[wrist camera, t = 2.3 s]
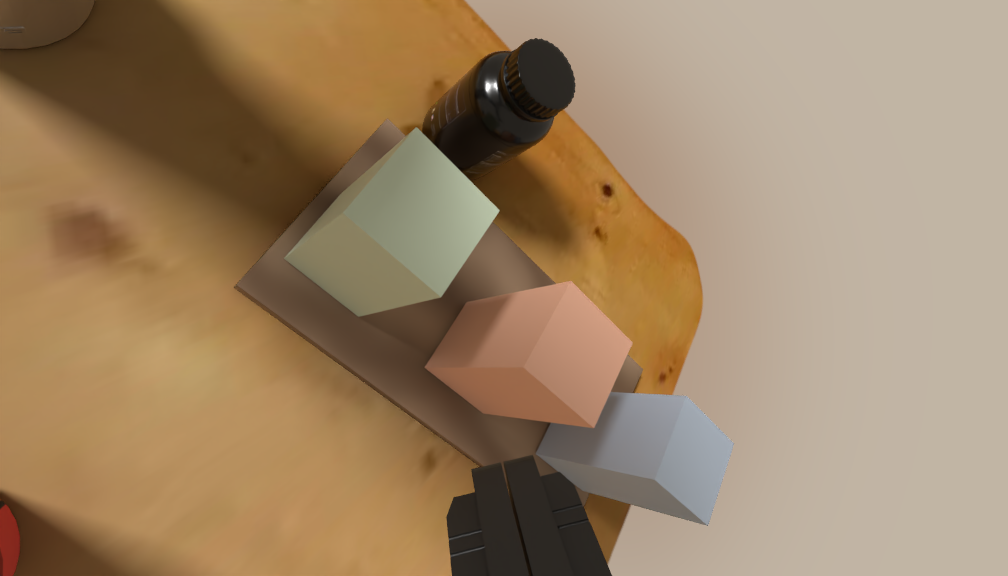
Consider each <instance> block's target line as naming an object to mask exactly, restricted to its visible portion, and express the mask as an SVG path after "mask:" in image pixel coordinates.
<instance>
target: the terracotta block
mask: <svg viewBox="0 0 1008 576" xmlns="http://www.w3.org/2000/svg"><path fill="white" fill-rule="evenodd" d="M631 346H632V342H631V341H630V340H629V339H628V338H627V337H626V336H625V335H624V334H623V333H622V332H621V331H620V330H619V329H618V328H617V327H616V326H615V325H614V324H613V323H612V322H611V321H610V319H609V318H608V317H607V316H606V315H605V314H604V313H603V312H602V311H601V310H600V309H599V308H598V307H597V306H596V305H595V304H594V303H593V302H592V301H591V300H590V299H589V298H588V297H587V296H586V295H585V294H584V293H583V292H582V291H581V290H580V289H579V288H578V287H577V286H576V285H575V284H574V283H573V282H572V281H568V282H564V283H559V284H554V285H549V286H544V287H539V288H534V289H529V290H524V291H519V292H514V293H509V294H504V295H500V296H495V297H490V298H485V299H480V300H475V301H470V302H467V303H466V304H465V306H464V307H463V309H462V310H461V312H460V313H459V315H458V316H457V318H456V320H455V321H454V323H453V324H452V326H451V327H450V329H449V330H448V332H447V333H446V335H445V337H444V338H443V340H442V341H441V343H440V344H439V346H438V347H437V349H436V350H435V352H434V354H433V355H432V357H431V358H430V360H429V361H428V363H427V364H426V366H425V367H424V368H425V369H427V370H428V371H429V372H431V373H432V374H433V375H434V376H436V377H437V378H438V379H440V380H441V381H442V382H443V383H445V384H446V385H447V386H449V387H450V388H451V389H452V390H454V391H455V392H456V393H457V394H459V395H460V396H461V397H463V398H464V399H465V400H466V401H468V402H469V403H470V404H472V405H473V406H474V407H475V408H477V409H478V410H479V411H481V412H482V413H483V414H491V415H498V416H506V417H513V418H521V419H528V420H536V421H543V422H551V423H558V424H566V425H573V426H581V427H588V428H594V427H595V425H596V423H597V421H598V418H599V416H600V414H601V412H602V410H603V407H604V405H605V403H606V401H607V399H608V396H609V394H610V392H611V390H612V388H613V385H614V383H615V381H616V379H617V376H618V374H619V372H620V370H621V368H622V365H623V363H624V361H625V359H626V357H627V354H628V352H629V350H630V348H631Z"/></svg>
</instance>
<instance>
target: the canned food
mask: <svg viewBox="0 0 1008 576" xmlns="http://www.w3.org/2000/svg"><path fill="white" fill-rule="evenodd" d="M19 554H20V534H19V530H18V526H17V522H16V520H15V518H14V516H13V514H12V513H11V511H10V509H9V507H8V506H7V505H6V504H5V503H4V502H3V501H2V500H1V499H0V576H13V575H14V573H15V570H16V566H17V562H18V558H19Z"/></svg>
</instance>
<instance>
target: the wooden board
mask: <svg viewBox="0 0 1008 576" xmlns="http://www.w3.org/2000/svg"><path fill="white" fill-rule="evenodd" d="M405 137H406V136H405V135H404V134H403V133H402V132H401V131H400V130H399V129H398V128H397V127H396V126H395V125H394V124H393V123H392V122H391V121H390V120H389V119H387V120H386V121H385V122H384V123H383V124H382V125H381V126H380V127H379V128H378V129H377V130H376V131H375V132H374V134H373V135H372V136H371V137H370V138H369V139H368V140H367V141H366V142H365V143H364V145H363V146H362V147H361V148H360V149H359V150H358V151H357V152H356V153H355V154H354V156H353V157H352V158H351V159H350V160H349V161H348V162H347V163H346V164H345V165H344V167H343V168H342V169H341V170H340V171H339V172H338V173H337V174H336V175H335V176H334V178H333V179H332V180H331V181H330V182H329V183H328V184H327V185H326V186H325V187H324V189H323V190H322V191H321V192H320V193H319V194H318V195H317V196H316V197H315V199H314V200H313V201H312V202H311V203H310V204H309V205H308V206H307V207H306V208H305V210H304V211H303V212H302V213H301V214H300V215H299V216H298V217H297V218H296V219H295V221H294V222H293V223H292V224H291V225H290V226H289V227H288V228H287V229H286V230H285V232H284V233H283V234H282V235H281V236H280V237H279V238H278V239H277V240H276V241H275V243H274V244H273V245H272V246H271V247H270V248H269V249H268V250H267V251H266V252H265V254H264V255H263V256H262V257H261V258H260V259H259V260H258V261H257V262H256V263H255V265H254V266H253V267H252V268H251V269H250V270H249V271H248V272H247V273H246V274H245V276H244V277H243V278H242V279H241V280H240V281H239V282H238V283H237V284H236V286H235V287H234V288H235V289H237V290H238V291H239V292H241V293H242V294H244V295H245V296H246V297H248V298H249V299H250V300H252V301H253V302H255V303H256V304H257V305H259V306H260V307H261V308H263V309H264V310H266V311H267V312H268V313H270V314H271V315H272V316H274V317H275V318H277V319H278V320H279V321H281V322H282V323H283V324H285V325H286V326H288V327H289V328H290V329H292V330H293V331H294V332H296V333H297V334H299V335H300V336H301V337H303V338H304V339H305V340H307V341H308V342H310V343H311V344H312V345H314V346H315V347H316V348H318V349H319V350H321V351H322V352H323V353H325V354H326V355H328V356H329V357H330V358H332V359H333V360H334V361H336V362H337V363H339V364H340V365H341V366H343V367H344V368H345V369H347V370H348V371H350V372H351V373H352V374H354V375H355V376H356V377H358V378H359V379H361V380H362V381H363V382H365V383H366V384H367V385H369V386H370V387H372V388H373V389H374V390H376V391H377V392H378V393H380V394H381V395H383V396H384V397H385V398H387V399H388V400H389V401H391V402H392V403H394V404H395V405H396V406H398V407H399V408H400V409H402V410H403V411H405V412H406V413H407V414H409V415H410V416H411V417H413V418H414V419H416V420H417V421H418V422H420V423H421V424H422V425H424V426H425V427H427V428H428V429H429V430H431V431H432V432H433V433H435V434H436V435H438V436H439V437H440V438H442V439H443V440H444V441H446V442H447V443H449V444H450V445H451V446H453V447H454V448H455V449H457V450H458V451H460V452H461V453H462V454H464V455H465V456H466V457H468V458H469V459H471V460H472V461H473V462H475V463H476V464H477V465H479V466H480V467H483V466H487V465H491V464H495V463H499V462H501V465H502V469H503V473H504V477H505V481H506V485H507V480H506V475H505V469H504V464H503V462H504V461H508V460H512V459H516V458H521V457H525V456H529V455H533V457H534V459H535V462H536V465H537V468H538V471H539V474H540V476H544V475H548V474H552V473H556V472H558V471H557V470H555V469H554V468H553V467H552V466H550V465H549V464H548V463H547V462H545V461H544V460H543V459H541V458H540V457H539V456H538V455H536V452H537V450H538V448H539V446H540V444H541V442H542V440H543V438H544V436H545V434H546V432H547V430H548V428H549V426H550V424H551V422H543V421H536V420H528V419H521V418H513V417H506V416H498V415H491V414H483V413H482V412H481V411H479V410H478V409H477V408H475V407H474V406H473V405H472V404H470V403H469V402H468V401H466V400H465V399H464V398H463V397H461V396H460V395H459V394H457V393H456V392H455V391H454V390H452V389H451V388H450V387H449V386H447V385H446V384H445V383H443V382H442V381H441V380H440V379H438V378H437V377H436V376H434V375H433V374H432V373H431V372H429V371H428V370H427V369H425V368H424V367H425V366H426V364H427V363H428V361H429V360H430V358H431V357H432V355H433V354H434V352H435V350H436V349H437V347H438V346H439V344H440V343H441V341H442V340H443V338H444V337H445V335H446V333H447V332H448V330H449V329H450V327H451V326H452V324H453V323H454V321H455V320H456V318H457V316H458V315H459V313H460V312H461V310H462V309H463V307H464V306H465V304H466V303H467V302H470V301H475V300H480V299H485V298H490V297H495V296H500V295H504V294H509V293H514V292H519V291H524V290H529V289H534V288H539V287H544V286H549V285H554V284H556V283H555V282H554V281H553V280H551V279H550V278H549V277H548V276H547V275H546V274H545V273H544V272H543V271H542V270H541V269H540V268H539V267H538V266H537V265H536V264H535V263H534V262H533V261H532V260H531V259H530V258H529V257H528V256H527V255H526V254H525V253H524V252H523V251H522V250H521V249H520V248H519V247H518V246H517V245H516V244H515V243H514V242H513V241H512V240H511V239H510V238H509V237H508V236H507V235H506V234H505V233H504V232H503V231H502V230H501V229H500V228H499V227H498V226H497V225H495V224H494V223H493V222H492V223H491V224H490V226H489V227H488V229H487V230H486V232H485V233H484V235H483V236H482V238H481V239H480V241H479V242H478V244H477V245H476V246H475V248H474V249H473V251H472V252H471V254H470V255H469V257H468V258H467V260H466V261H465V263H464V264H463V266H462V267H461V269H460V270H459V272H458V273H457V274H456V276H455V277H454V279H453V280H452V282H451V283H450V285H449V286H448V288H447V289H446V291H445V292H444V294H443V295H442V297H440V298H436V299H432V300H428V301H423V302H419V303H415V304H411V305H406V306H402V307H398V308H394V309H390V310H385V311H381V312H377V313H373V314H368V315H364V316H360V317H358V316H357V315H355V314H354V313H353V312H352V311H350V310H349V309H348V308H347V307H345V306H344V305H343V304H341V303H340V302H339V301H338V300H336V299H335V298H334V297H332V296H331V295H330V294H329V293H327V292H326V291H325V290H323V289H322V288H321V287H320V286H318V285H317V284H316V283H315V282H313V281H312V280H311V279H309V278H308V277H307V276H306V275H304V274H303V273H302V272H300V271H299V270H298V269H297V268H295V267H294V266H293V265H291V264H290V263H289V262H288V261H286V260H285V259H284V258H285V257H286V255H287V254H288V253H289V252H290V251H291V250H292V249H293V248H294V246H295V245H296V244H297V243H298V242H299V241H300V240H301V238H302V237H303V236H304V235H305V234H306V233H307V232H308V231H309V229H310V228H311V227H312V226H313V225H314V224H315V223H316V221H317V220H318V219H319V218H320V217H321V216H322V215H323V213H324V212H325V211H326V210H327V209H328V208H329V207H330V206H331V204H332V203H333V202H334V201H335V200H336V199H337V198H338V196H339V195H340V194H341V193H342V192H343V191H344V190H346V189H347V188H348V187H349V186H350V185H351V184H352V183H353V182H355V181H356V180H357V179H358V178H359V177H360V176H361V175H363V174H364V173H365V172H366V171H367V170H368V169H369V168H371V167H372V166H373V165H374V164H375V163H376V162H377V161H379V160H380V159H381V158H382V157H383V156H384V155H385V154H386V153H388V152H389V151H390V150H391V149H392V148H393V147H394V146H396V145H397V144H398V143H399V142H400V141H401V140H402V139H404V138H405ZM642 370H643V369H642V368H641V367H640V366H639V365H638V364H637V363H636V362H635V361H634V360H633V359H632V358H631V357H630V356H629V355H628V354H627V357H626V359H625V361H624V363H623V365H622V368H621V370H620V372H619V374H618V376H617V379H616V381H615V383H614V385H613V388H612V390H611V392H619V393H633V391H634V389H635V387H636V384H637V382H638V380H639V377H640V375H641V373H642ZM569 481H570V480H569ZM570 482H571V481H570ZM571 483H572V482H571ZM574 485H575V484H574ZM507 486H508V485H507ZM575 488H576V490H577V492H578V495H579V497H580V500H581V502H582V506H583V507H584V505H585V503H586V501H587V498H588V496H589V494H590V493H589V492H585V491H582V490H581V489H580V488H578V487H577V486H576V485H575Z"/></svg>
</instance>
